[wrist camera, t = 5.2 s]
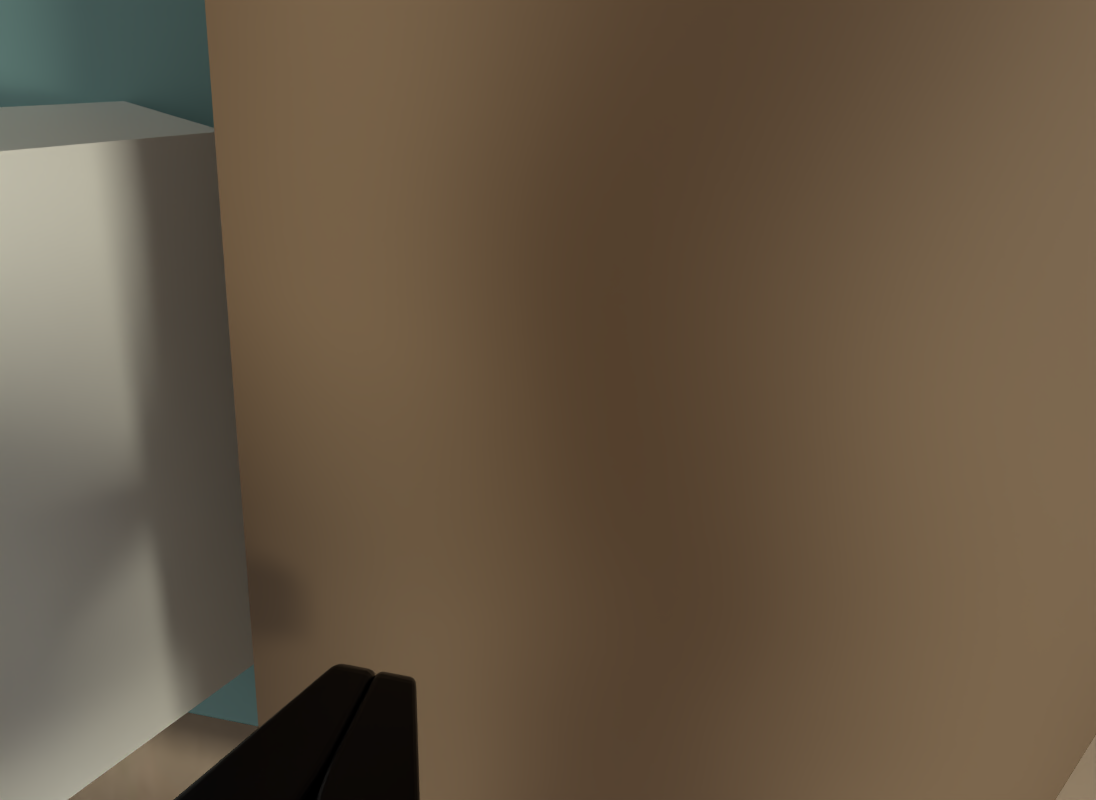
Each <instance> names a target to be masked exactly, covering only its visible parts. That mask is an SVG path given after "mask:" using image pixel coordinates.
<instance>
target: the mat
mask: <svg viewBox="0 0 1096 800" xmlns="http://www.w3.org/2000/svg"><path fill="white" fill-rule="evenodd" d="M116 101H126V102H129V103H132V104H136V105H139V106H142V107H146V108H149V109H152V110H156V111H159V112H162V113H166V114H169V115H172V116H176V117H179V118H182V119H186V120H189V121H192V122H196V123H199V124H203V125H206V126H209V127H213V128H214V120H213V106H212V93H211V79H210V66H209V52H208V39H207V25H206V12H205V0H0V107H15V106H35V105H55V104H76V103H96V102H116ZM188 713H193V714H199V715H204V716H209V717H214V718H219V719H224V720H229V721H234V722H239V723H244V724H249V725H254V726H258V715H257V701H256V688H255V674H254V664H253V665H252V666H251V667H249V668H248V669H246V670H245V671H244V672H242V673H241V674H240V675H238V676H237V677H235V678H234V679H233V680H231V681H230V682H229V683H227V684H226V685H224V686H223V687H222V688H220V689H219V690H218V691H216V692H215V693H213V694H212V695H211V696H209V697H208V698H207V699H205V700H204V701H202V702H201V703H200V704H198V705H197V706H196V707H194V708H193V709H191V710H190V711H189V712H188Z"/></svg>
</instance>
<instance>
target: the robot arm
mask: <svg viewBox="0 0 1096 800" xmlns="http://www.w3.org/2000/svg"><path fill="white" fill-rule="evenodd" d="M174 800H420V787H419V755H418V722H417V689H416V681H415V679H414V678H413V677H410V676H405V675H400V674H395V673H389V672H379V673H377V674H376V675H375V672H374V671H373V670H371V669H368V668H363V667H358V666H353V665H347V664H337V665H334V666H332V667H331V668H330V669H328V670H327V671H326V672H325V673H324V674H322V675H321V676H320V677H319V678H318V679H316V680H315V681H314V682H313V683H312V684H311V685H309V686H308V687H307V688H306V689H305V690H303V691H302V692H301V693H300V694H299V695H297V696H296V697H295V698H294V699H293V700H292V701H290V702H289V703H288V704H287V705H286V706H284V707H283V708H282V709H281V710H280V711H278V712H277V713H276V714H275V715H274V716H273V717H271V718H270V719H269V720H268V721H267V722H265V723H264V724H263V725H262V726H261V727H259V728H258V729H257V730H256V731H255V732H254V733H252V734H251V735H250V736H249V737H248V738H246V739H245V740H244V741H243V742H242V743H240V744H239V745H238V746H237V747H236V748H235V749H233V750H232V751H231V752H230V753H229V754H227V755H226V756H225V757H224V758H223V759H221V760H220V761H219V762H218V763H217V764H216V765H214V766H213V767H212V768H211V769H210V770H208V771H207V772H206V773H205V774H204V775H202V776H201V777H200V778H199V779H198V780H197V781H195V782H194V783H193V784H192V785H191V786H189V787H188V788H187V789H186V790H185V791H183V792H182V793H181V794H180V795H179V796H178V797H176V798H175V799H174Z"/></svg>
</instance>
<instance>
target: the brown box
mask: <svg viewBox="0 0 1096 800" xmlns="http://www.w3.org/2000/svg"><path fill="white" fill-rule="evenodd" d="M205 12H206V25H207V39H208V52H209V66H210V79H211V93H212V106H213V120H214V133H215V147H216V160H217V174H218V187H219V201H220V214H221V228H222V241H223V255H224V269H225V282H226V296H227V309H228V323H229V336H230V350H231V363H232V377H233V390H234V404H235V417H236V431H237V444H238V458H239V471H240V485H241V498H242V512H243V525H244V539H245V552H246V566H247V579H248V593H249V606H250V620H251V633H252V647H253V661H254V674H255V688H256V701H257V715H258V728H259V727H261V726H262V725H263V724H264V723H265V722H267V721H268V720H269V719H270V718H271V717H273V716H274V715H275V714H276V713H277V712H278V711H280V710H281V709H282V708H283V707H284V706H286V705H287V704H288V703H289V702H290V701H292V700H293V699H294V698H295V697H296V696H297V695H299V694H300V693H301V692H302V691H303V690H305V689H306V688H307V687H308V686H309V685H311V684H312V683H313V682H314V681H315V680H316V679H318V678H319V677H320V676H321V675H322V674H324V673H325V672H326V671H327V670H328V669H330V668H331V667H332V666H334V665H337V664H347V665H353V666H358V667H363V668H368V669H371V670H373V671H374V672H375V675H376V674H377V673H379V672H389V673H395V674H400V675H405V676H410V677H413V678H414V679H415V681H416V689H417V722H418V755H419V787H420V800H1056V798H1057V796H1058V795H1059V793H1060V791H1061V790H1062V788H1063V787H1064V785H1065V783H1066V782H1067V780H1068V779H1069V777H1070V775H1071V774H1072V772H1073V771H1074V769H1075V767H1076V766H1077V764H1078V762H1079V761H1080V759H1081V758H1082V756H1083V754H1084V753H1085V751H1086V750H1087V748H1088V746H1089V745H1090V743H1091V741H1092V740H1093V738H1094V737H1095V735H1096V0H205Z"/></svg>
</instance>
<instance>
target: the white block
mask: <svg viewBox="0 0 1096 800" xmlns="http://www.w3.org/2000/svg"><path fill="white" fill-rule="evenodd" d="M253 664H254V661H253V647H252V633H251V620H250V606H249V593H248V579H247V566H246V552H245V539H244V525H243V512H242V498H241V485H240V471H239V458H238V444H237V431H236V417H235V404H234V390H233V377H232V363H231V350H230V336H229V323H228V309H227V296H226V282H225V269H224V255H223V241H222V228H221V214H220V201H219V187H218V174H217V160H216V147H215V133H214V128H213V127H209V126H206V125H203V124H199V123H196V122H192V121H189V120H186V119H182V118H179V117H176V116H172V115H169V114H166V113H162V112H159V111H156V110H152V109H149V108H146V107H142V106H139V105H136V104H132V103H129V102H126V101H116V102H96V103H76V104H55V105H35V106H15V107H0V800H68V799H69V798H71V797H72V796H73V795H75V794H76V793H77V792H79V791H80V790H82V789H83V788H84V787H86V786H87V785H88V784H90V783H91V782H93V781H94V780H95V779H97V778H98V777H99V776H101V775H102V774H104V773H105V772H106V771H108V770H109V769H110V768H112V767H113V766H115V765H116V764H117V763H119V762H120V761H121V760H123V759H124V758H126V757H127V756H128V755H130V754H131V753H132V752H134V751H135V750H137V749H138V748H139V747H141V746H142V745H143V744H145V743H146V742H147V741H149V740H150V739H152V738H153V737H154V736H156V735H157V734H158V733H160V732H161V731H163V730H164V729H165V728H167V727H168V726H169V725H171V724H172V723H174V722H175V721H176V720H178V719H179V718H180V717H182V716H183V715H185V714H186V713H187V712H189V711H190V710H191V709H193V708H194V707H196V706H197V705H198V704H200V703H201V702H202V701H204V700H205V699H207V698H208V697H209V696H211V695H212V694H213V693H215V692H216V691H218V690H219V689H220V688H222V687H223V686H224V685H226V684H227V683H229V682H230V681H231V680H233V679H234V678H235V677H237V676H238V675H240V674H241V673H242V672H244V671H245V670H246V669H248V668H249V667H251V666H252V665H253Z"/></svg>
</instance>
